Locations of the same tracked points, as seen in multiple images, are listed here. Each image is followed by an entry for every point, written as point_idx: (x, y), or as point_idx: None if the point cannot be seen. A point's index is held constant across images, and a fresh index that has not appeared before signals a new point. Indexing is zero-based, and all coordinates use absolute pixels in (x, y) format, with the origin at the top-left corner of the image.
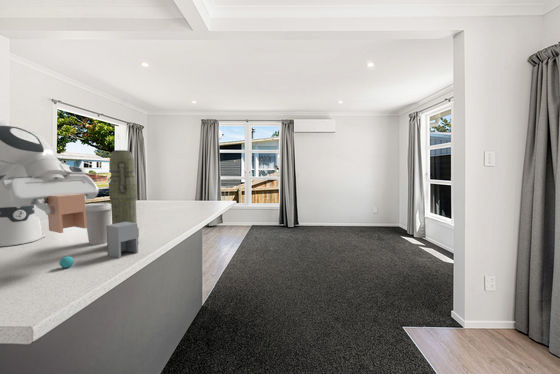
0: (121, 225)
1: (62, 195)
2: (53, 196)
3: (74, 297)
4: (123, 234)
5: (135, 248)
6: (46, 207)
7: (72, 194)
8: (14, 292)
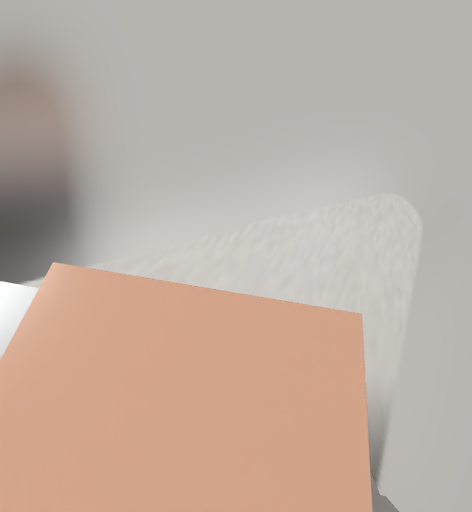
0: (15, 306)
1: (256, 405)
2: (367, 462)
3: (328, 214)
4: None
5: None
6: (374, 485)
7: (91, 414)
8: (383, 350)
